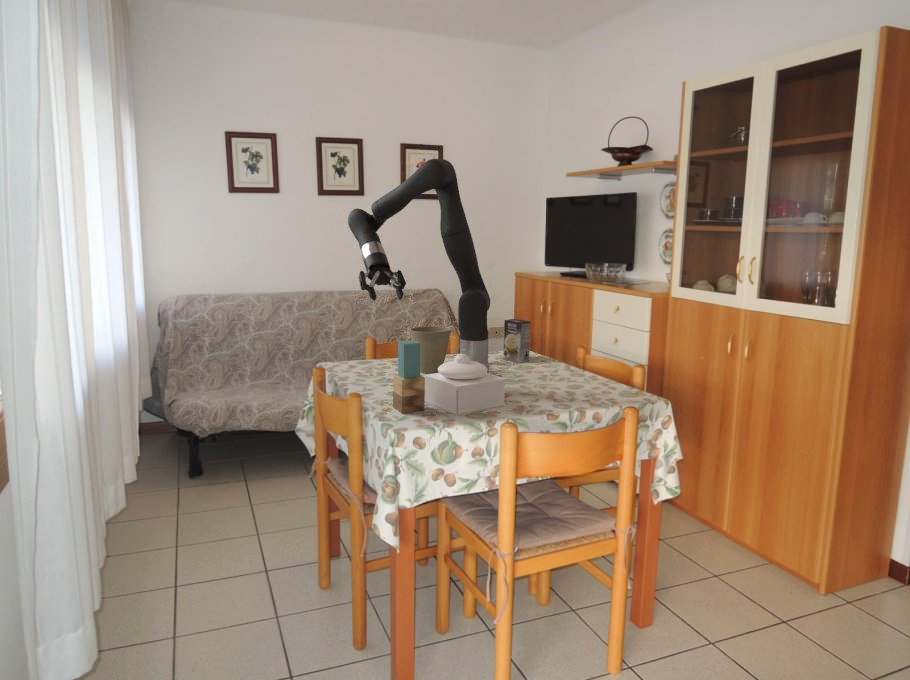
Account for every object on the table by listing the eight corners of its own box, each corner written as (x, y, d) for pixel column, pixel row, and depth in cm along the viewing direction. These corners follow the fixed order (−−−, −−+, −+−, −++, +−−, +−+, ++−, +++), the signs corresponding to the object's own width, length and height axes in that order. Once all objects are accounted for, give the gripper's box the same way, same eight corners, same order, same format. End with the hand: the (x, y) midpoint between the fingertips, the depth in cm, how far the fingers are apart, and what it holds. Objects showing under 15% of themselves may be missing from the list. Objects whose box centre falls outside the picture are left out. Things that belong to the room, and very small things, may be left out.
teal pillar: (414, 373, 198) (414, 340, 197) (420, 377, 194) (420, 343, 192) (398, 374, 196) (398, 341, 195) (403, 378, 192) (403, 344, 190)
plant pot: (452, 368, 253) (452, 326, 250) (448, 377, 238) (448, 332, 235) (413, 366, 254) (413, 325, 251) (406, 375, 239) (406, 331, 237)
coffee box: (502, 359, 270) (503, 319, 267) (513, 357, 274) (514, 318, 271) (519, 363, 263) (520, 322, 260) (530, 360, 267) (531, 321, 265)
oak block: (415, 388, 200) (415, 372, 200) (424, 394, 194) (424, 377, 193) (393, 391, 198) (393, 374, 197) (401, 396, 191) (401, 379, 190)
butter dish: (469, 394, 215) (469, 345, 212) (505, 407, 200) (506, 355, 198) (422, 402, 204) (423, 351, 202) (457, 416, 190) (458, 361, 187)
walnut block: (414, 405, 201) (414, 388, 201) (424, 411, 195) (424, 394, 194) (393, 407, 198) (392, 391, 197) (401, 413, 192) (401, 396, 191)
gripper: (356, 251, 210) (368, 291, 201) (398, 251, 216) (412, 289, 208) (351, 267, 215) (363, 307, 207) (392, 266, 221) (406, 305, 213)
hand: (387, 298), depth 207 cm, fingers open, 8 cm apart
